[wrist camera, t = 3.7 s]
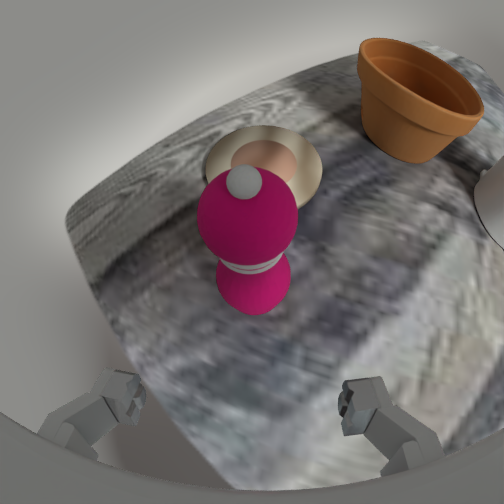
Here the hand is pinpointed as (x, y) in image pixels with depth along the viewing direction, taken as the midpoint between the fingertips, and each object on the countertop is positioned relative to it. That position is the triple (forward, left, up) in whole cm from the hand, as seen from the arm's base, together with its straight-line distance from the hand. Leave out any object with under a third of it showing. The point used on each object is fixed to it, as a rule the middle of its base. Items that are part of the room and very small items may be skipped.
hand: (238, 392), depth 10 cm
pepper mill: (0, -10, -19) cm, 22 cm away
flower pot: (-25, -37, -19) cm, 48 cm away
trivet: (-1, -27, -19) cm, 33 cm away
